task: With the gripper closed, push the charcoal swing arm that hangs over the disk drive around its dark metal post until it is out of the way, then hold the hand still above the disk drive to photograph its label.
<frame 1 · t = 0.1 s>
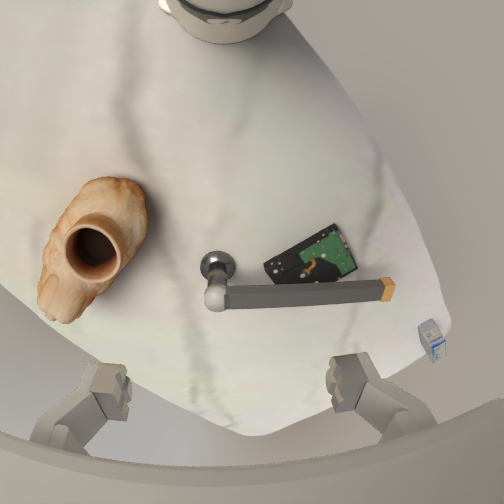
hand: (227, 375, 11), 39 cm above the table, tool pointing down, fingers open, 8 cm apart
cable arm: (305, 294, 49), point 9 cm above the table, hinge at 0.0°
pivot post: (217, 265, 55), on the table
disk drive: (309, 261, 57), on the table
medicine box: (425, 329, 72), on the table
ceramic vessel: (99, 233, 50), on the table
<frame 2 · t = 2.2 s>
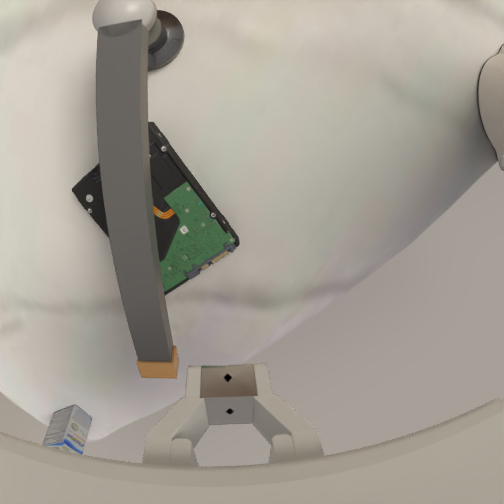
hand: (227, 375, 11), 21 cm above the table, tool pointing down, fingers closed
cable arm: (129, 206, 20), point 9 cm above the table, hinge at 0.0°
pivot post: (152, 40, 22), on the table
disk drive: (158, 208, 30), on the table
medicine box: (72, 413, 44), on the table
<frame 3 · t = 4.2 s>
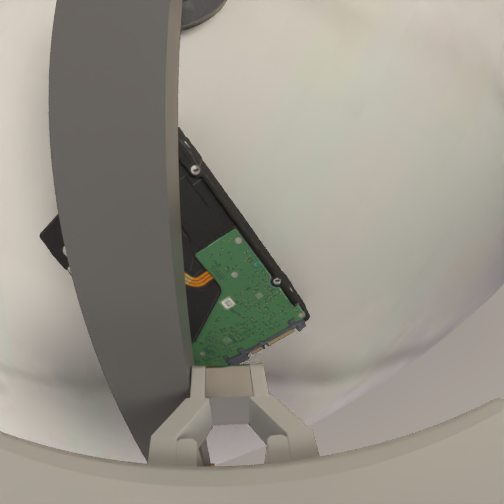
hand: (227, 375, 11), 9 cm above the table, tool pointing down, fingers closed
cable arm: (138, 310, 9), point 9 cm above the table, hinge at -0.9°, touching gripper
disk drive: (180, 261, 19), on the table
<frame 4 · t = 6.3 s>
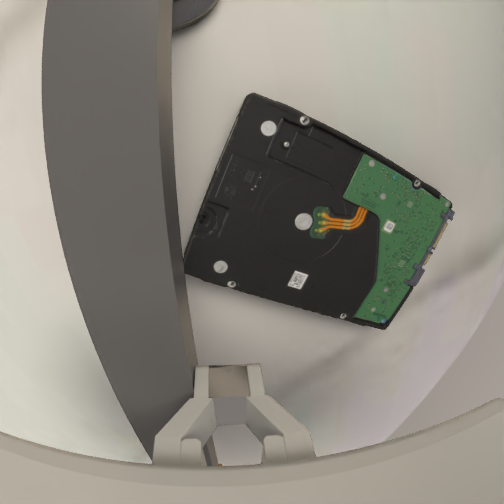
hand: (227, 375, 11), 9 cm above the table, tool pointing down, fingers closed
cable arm: (139, 313, 9), point 9 cm above the table, hinge at -33.1°, touching gripper
disk drive: (323, 218, 19), on the table
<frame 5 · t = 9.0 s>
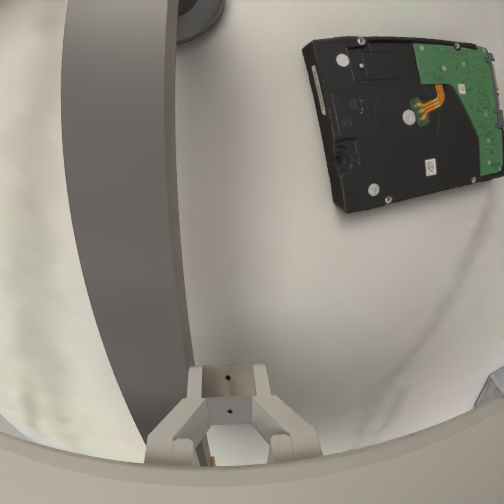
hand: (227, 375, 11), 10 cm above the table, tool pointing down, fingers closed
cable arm: (141, 304, 10), point 9 cm above the table, hinge at -70.2°, touching gripper
pivot post: (172, 1, 13), on the table
disk drive: (412, 112, 18), on the table
medicine box: (489, 384, 34), on the table
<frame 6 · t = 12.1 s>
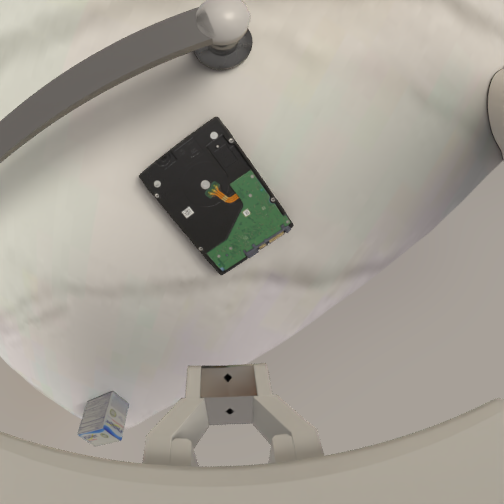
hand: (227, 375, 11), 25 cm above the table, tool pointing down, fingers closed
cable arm: (66, 93, 19), point 9 cm above the table, hinge at -70.4°
pivot post: (222, 44, 26), on the table
disk drive: (218, 194, 34), on the table
medicine box: (108, 401, 48), on the table
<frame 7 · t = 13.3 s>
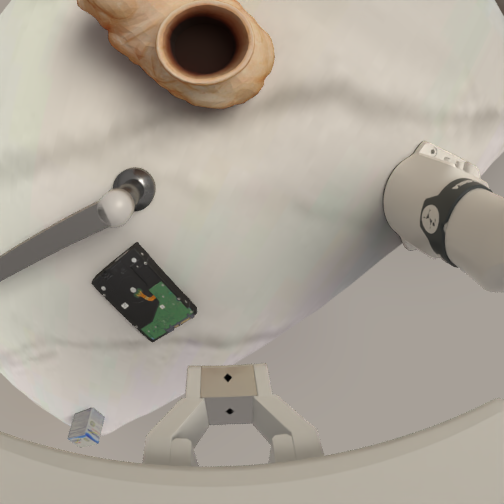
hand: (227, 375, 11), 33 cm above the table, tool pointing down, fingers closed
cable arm: (34, 248, 33), point 9 cm above the table, hinge at -70.4°
pivot post: (134, 188, 40), on the table
disk drive: (146, 290, 48), on the table
medicine box: (89, 414, 61), on the table
ceramic vessel: (182, 36, 32), on the table
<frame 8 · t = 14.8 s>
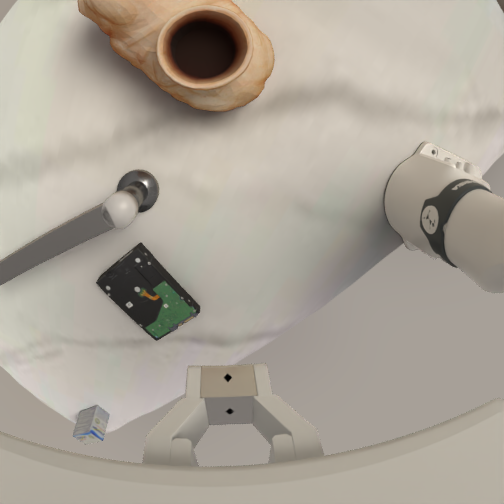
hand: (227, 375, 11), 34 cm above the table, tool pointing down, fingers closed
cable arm: (40, 249, 34), point 9 cm above the table, hinge at -70.4°
pivot post: (138, 190, 41), on the table
disk drive: (150, 289, 49), on the table
medicine box: (94, 411, 63), on the table
ceramic vessel: (183, 39, 33), on the table
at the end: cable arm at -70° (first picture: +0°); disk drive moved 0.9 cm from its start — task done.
